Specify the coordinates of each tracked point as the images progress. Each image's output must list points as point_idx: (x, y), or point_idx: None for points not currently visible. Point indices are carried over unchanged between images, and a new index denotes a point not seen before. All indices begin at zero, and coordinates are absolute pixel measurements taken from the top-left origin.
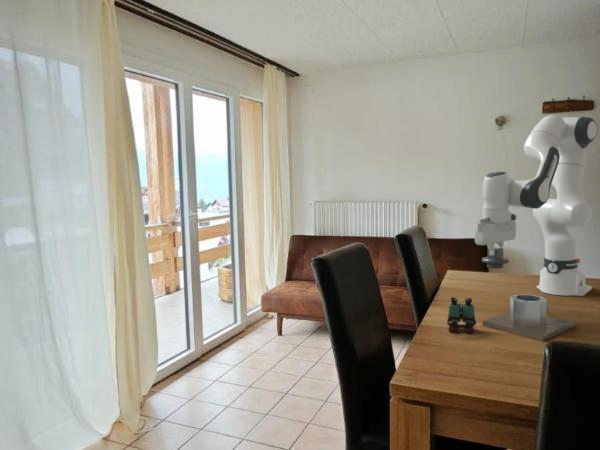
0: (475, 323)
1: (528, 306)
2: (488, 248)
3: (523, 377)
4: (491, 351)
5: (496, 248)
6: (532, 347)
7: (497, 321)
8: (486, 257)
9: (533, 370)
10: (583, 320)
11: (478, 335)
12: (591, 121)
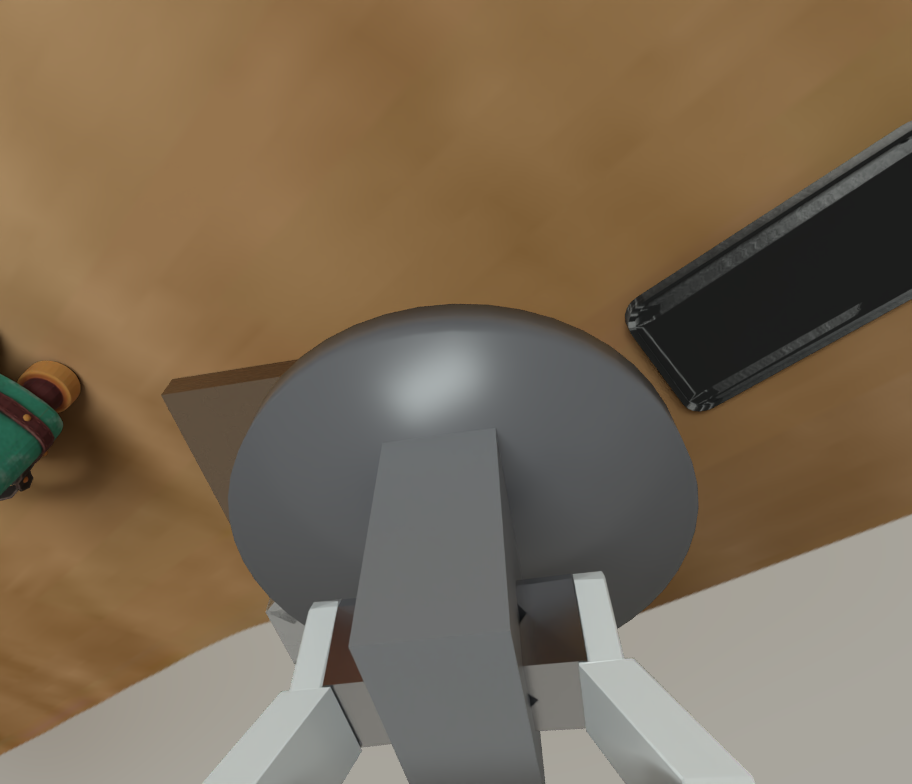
0: (30, 476)
1: None
2: (239, 745)
3: (19, 717)
4: (20, 594)
5: (443, 771)
6: (207, 628)
7: (238, 441)
8: (449, 364)
9: (79, 707)
10: (707, 556)
11: (57, 470)
12: None
